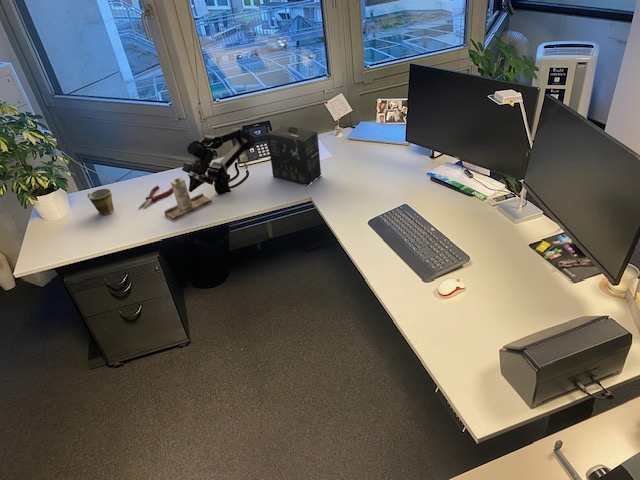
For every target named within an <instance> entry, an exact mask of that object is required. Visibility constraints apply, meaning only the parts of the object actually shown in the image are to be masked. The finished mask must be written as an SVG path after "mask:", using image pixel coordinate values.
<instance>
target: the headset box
mask: <svg viewBox="0 0 640 480" xmlns="http://www.w3.org/2000/svg"><path fill="white" fill-rule="evenodd" d="M266 137H267V143H268V144H267V145H268V151H269V155H270V163H271V171H272V177H273V178H276V179H279V180H284V181H287V182H291V183H297V184H299V183H300V185H303V184H306V185H305V186H307V185H309V184H310V183H311V182H313V181H314V180H315V179H316V178H318V177H319V176H320V175H321V176H322V172H321V171H322V170H321V157H320V146H319V136H318V131H316V130H315V131H314V130H309V129H303V128H298V127H293V126H287V125H283V124H282V125H279V126H277V127H275V128H274V129H273V130H271V131H270V132H267V133H266ZM321 176H320V177H321ZM320 177H319V178H320ZM319 178H318V179H319ZM314 182H315V181H314ZM314 182H313V183H314ZM309 186H310V185H309Z"/></svg>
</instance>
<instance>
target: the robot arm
mask: <svg viewBox="0 0 640 480" xmlns="http://www.w3.org/2000/svg"><path fill="white" fill-rule="evenodd" d="M232 140H236V144H235V145H234V147H233V148H231V150H230V151H229V152H228V153H227V154H226V155H225V156H224V157H223V158H222V159H221V160H220V161H219V162H217V161H213V159H214V157H219V155H218V151H217V150H218V149H219V148H221V147H223V145H224V143H227V142H230V141H232ZM255 144H256V138H255V136H253V135H251V134H250V133H249V132H247V131H246V130H244V129H243V128H241V127H233V128H232V129H229V130H226V131H224V132H221V133H218V134H206V135H204V137H203V138H202V139H201V140H197V139H193V141H192V142H190V143H189V144H188V146H187V148H186V149H187V153H188V154H189V155H191V156H193V157H195V158H197V159H195V160H194V162H192V161H183V165H182V169H181V171H183V172H185V173H187V176H188V178H189V183H188V185H189V186H188V193H189V192H190V193H192V192H194V191H195V190H196V189H198V188H199V187H200V186H201V185H203V184H205V183H206V184H209V185H211V186H213V188H214V191H215V193H216V194H217V195H218V196H220V195H225V194H228V193H231V192H232V190H231V188H230V184H229V182H230V180H231V175H230V174H228V170H229V168H230V167H231V166H232V165H233V164H234V163H235V162H236V160H237V159H238V158H239V157H240V156H241V155H242V154H243V153H244V152H246V151H249V150H250V149H252V148H254V146H255ZM212 161H213V162H212Z"/></svg>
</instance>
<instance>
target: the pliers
mask: <svg viewBox="0 0 640 480" xmlns="http://www.w3.org/2000/svg"><path fill="white" fill-rule="evenodd" d="M158 190H160V186H158V185H156V186H155V187H153V188H152V189H151V190H150V191H149V195H148V196H146V197H145V201H144V202H143V203H141V205H140V206H139V207H138V209H143V210H144V209H146V208H148V206H150V205H152V203H157V201H160V200H161V199H164V198H166V197H168V196H170V195H172V194H174V191H173V188H172V187H170V188H169V189H168V190H166V191H165V192H161V193H160V194H157V195H154V194H155V193H156V192H157V191H158Z"/></svg>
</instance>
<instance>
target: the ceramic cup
mask: <svg viewBox="0 0 640 480" xmlns="http://www.w3.org/2000/svg"><path fill="white" fill-rule="evenodd" d="M87 198H88V200H89V201H90V203H91V204H92V205H93V207H95V209H96V210H97V212H98V214H100V215H101V216H109V215H111V214H112V213H114V212H115V207H114V203H113V195H112V190H111V189H109V188H100V189H96V190H94V191H92V192H91V193H88V194H87Z"/></svg>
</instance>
